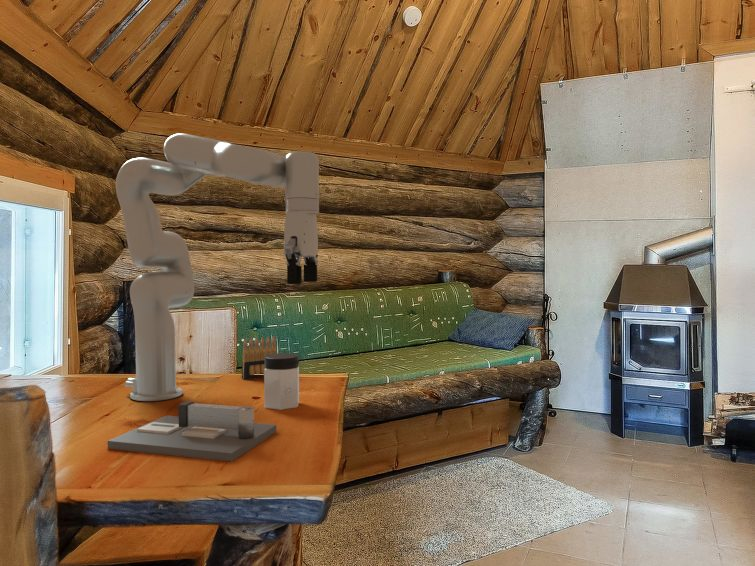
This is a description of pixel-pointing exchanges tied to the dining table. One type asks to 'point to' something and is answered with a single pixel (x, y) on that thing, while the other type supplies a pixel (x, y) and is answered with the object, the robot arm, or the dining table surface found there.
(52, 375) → the dining table surface
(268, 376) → the jar
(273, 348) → the ammunition clip
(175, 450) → the label board
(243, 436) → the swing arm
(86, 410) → the dining table surface
